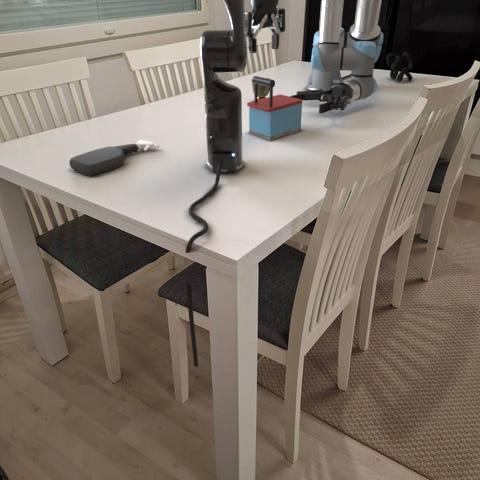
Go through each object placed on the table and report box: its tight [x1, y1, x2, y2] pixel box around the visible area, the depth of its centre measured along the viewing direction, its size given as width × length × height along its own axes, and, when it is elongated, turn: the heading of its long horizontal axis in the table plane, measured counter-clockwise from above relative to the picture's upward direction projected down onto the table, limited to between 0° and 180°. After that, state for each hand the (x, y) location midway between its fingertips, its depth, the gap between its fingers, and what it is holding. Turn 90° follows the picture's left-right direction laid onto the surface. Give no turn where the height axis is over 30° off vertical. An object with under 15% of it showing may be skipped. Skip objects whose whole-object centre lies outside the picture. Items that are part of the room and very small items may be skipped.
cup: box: [251, 76, 271, 100], centre depth 173 cm, size 8×7×8 cm
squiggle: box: [385, 51, 414, 83], centre depth 198 cm, size 11×10×15 cm
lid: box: [246, 75, 303, 112], centre depth 136 cm, size 14×10×9 cm
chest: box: [248, 102, 303, 141], centre depth 141 cm, size 14×10×9 cm
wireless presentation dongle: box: [68, 139, 160, 177], centre depth 124 cm, size 3×11×24 cm
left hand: (264, 50), depth 127 cm, fingers open, 8 cm apart
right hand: (303, 105), depth 145 cm, fingers open, 13 cm apart
